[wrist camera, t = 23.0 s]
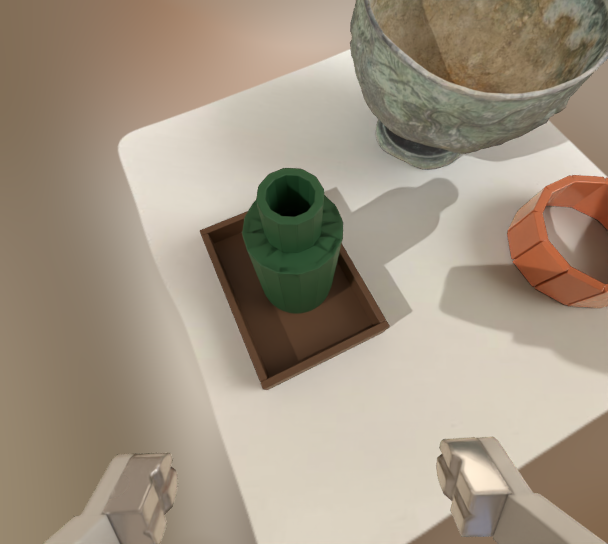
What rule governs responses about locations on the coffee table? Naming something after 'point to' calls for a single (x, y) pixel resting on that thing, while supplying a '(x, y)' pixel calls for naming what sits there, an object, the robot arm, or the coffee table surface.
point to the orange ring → (543, 255)
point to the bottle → (293, 240)
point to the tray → (288, 326)
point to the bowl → (471, 69)
